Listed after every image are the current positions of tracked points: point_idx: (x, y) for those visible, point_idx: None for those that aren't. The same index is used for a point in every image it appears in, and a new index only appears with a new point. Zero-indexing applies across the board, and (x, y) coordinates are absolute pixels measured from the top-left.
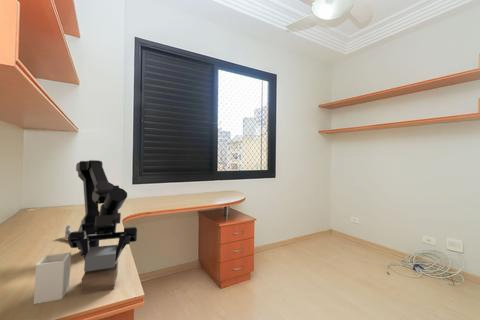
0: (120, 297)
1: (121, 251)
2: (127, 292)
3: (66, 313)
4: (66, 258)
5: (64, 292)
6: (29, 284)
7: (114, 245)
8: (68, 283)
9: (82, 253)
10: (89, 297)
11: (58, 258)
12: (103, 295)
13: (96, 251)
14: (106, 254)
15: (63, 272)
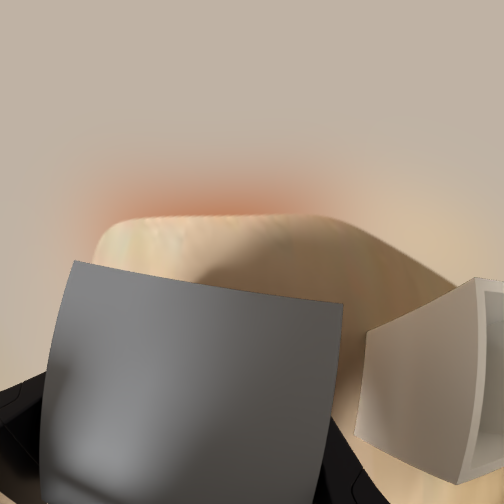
0: (157, 229)
1: None
2: (129, 251)
3: (329, 221)
4: (477, 342)
5: (368, 362)
6: (466, 485)
7: (61, 498)
8: (365, 422)
9: None
10: (264, 291)
11: (493, 449)
12: (211, 277)
13: (227, 443)
14: (133, 282)
15: (428, 303)
